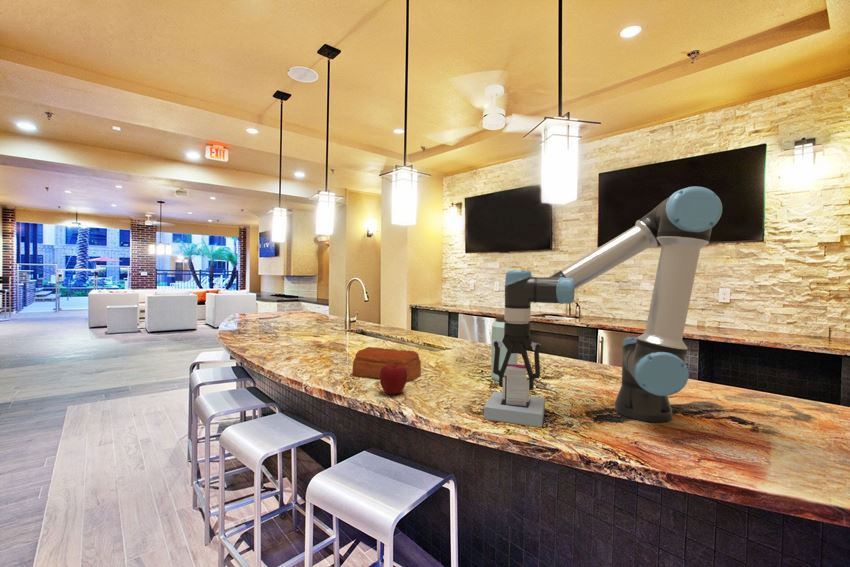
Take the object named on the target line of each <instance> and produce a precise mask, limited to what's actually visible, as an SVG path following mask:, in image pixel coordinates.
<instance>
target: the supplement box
mask: <svg viewBox="0 0 850 567" xmlns="http://www.w3.org/2000/svg"><path fill="white" fill-rule="evenodd" d="M527 375H528V373H527V369H526V366H525V364H518V363H517V364H507V382H506V405H508V406H516V407H524V408H525V407H526V381H527V378H528V377H527Z"/></svg>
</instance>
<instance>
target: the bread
mask: <svg viewBox="0 0 850 567" xmlns="http://www.w3.org/2000/svg"><path fill="white" fill-rule="evenodd" d="M391 364H394V365H395V364H396V365H401V366H403V367H404V368H405V369H406V371H407V381H406V383H409V382H414V381H415V380H417V379H418V378H420V377H421V376H422V369H421V368H422V366H421V364H422V362H421V359H420V356H419V353H417V351H415V350H406V349H405V350H404V349H395V348H381V347H375V346H374V347H371V346H368V347H365V348H362V349H359V350H358V351H357V352H356V353H355V357H354V359H353V362H352V371H351V372H352V375H353V376H356V377H362V378H370V379H379V380H380V371H381V369H382V367H384V366H385V365H391Z"/></svg>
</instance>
